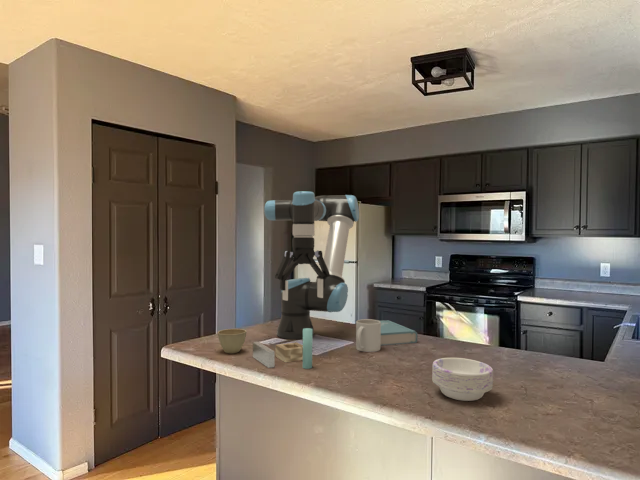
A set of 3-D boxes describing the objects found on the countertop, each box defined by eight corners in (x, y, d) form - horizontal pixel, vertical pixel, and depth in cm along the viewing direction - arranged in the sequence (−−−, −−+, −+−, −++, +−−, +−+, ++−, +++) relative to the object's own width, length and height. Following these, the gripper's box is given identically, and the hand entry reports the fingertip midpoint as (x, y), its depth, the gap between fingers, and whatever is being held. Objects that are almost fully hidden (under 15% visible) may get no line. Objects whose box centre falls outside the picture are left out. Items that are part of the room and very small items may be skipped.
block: (296, 353, 158) (296, 342, 158) (307, 359, 151) (307, 347, 151) (275, 356, 155) (275, 344, 154) (285, 362, 148) (285, 350, 147)
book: (355, 333, 192) (355, 322, 192) (390, 331, 197) (390, 320, 197) (379, 346, 171) (379, 333, 171) (417, 343, 176) (417, 330, 176)
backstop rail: (258, 356, 155) (258, 341, 155) (274, 367, 143) (274, 351, 142) (252, 357, 154) (252, 342, 154) (268, 367, 142) (268, 351, 141)
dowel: (309, 365, 144) (309, 327, 144) (313, 368, 142) (314, 329, 142) (300, 366, 143) (301, 328, 143) (305, 369, 140) (305, 330, 140)
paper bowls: (505, 402, 114) (506, 370, 114) (452, 408, 110) (453, 375, 110) (469, 382, 129) (469, 355, 129) (421, 387, 124) (421, 358, 124)
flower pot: (249, 348, 165) (249, 328, 165) (242, 355, 155) (242, 335, 155) (222, 347, 166) (222, 328, 166) (213, 354, 156) (213, 334, 156)
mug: (374, 345, 171) (374, 318, 171) (385, 351, 162) (385, 323, 162) (347, 347, 168) (347, 320, 168) (357, 353, 159) (357, 325, 159)
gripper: (328, 236, 166) (328, 295, 166) (265, 236, 153) (265, 299, 153) (340, 237, 159) (339, 297, 159) (274, 236, 147) (274, 302, 147)
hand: (303, 298), depth 156 cm, fingers open, 13 cm apart
